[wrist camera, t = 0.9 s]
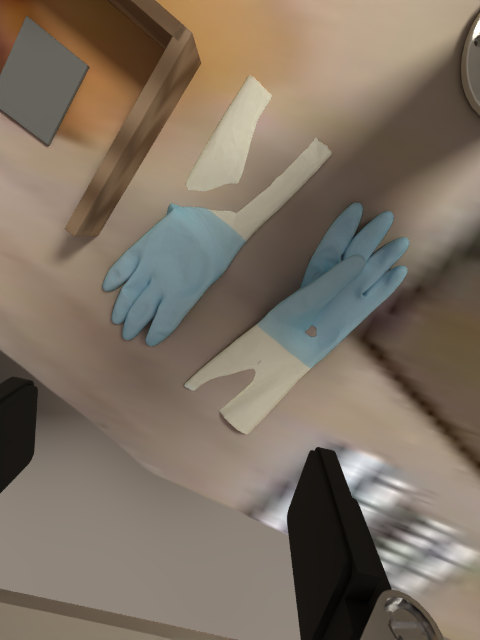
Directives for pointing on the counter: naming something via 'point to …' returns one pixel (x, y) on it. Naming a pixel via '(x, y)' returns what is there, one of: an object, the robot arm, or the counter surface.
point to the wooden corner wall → (139, 113)
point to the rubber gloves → (221, 247)
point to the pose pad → (39, 81)
